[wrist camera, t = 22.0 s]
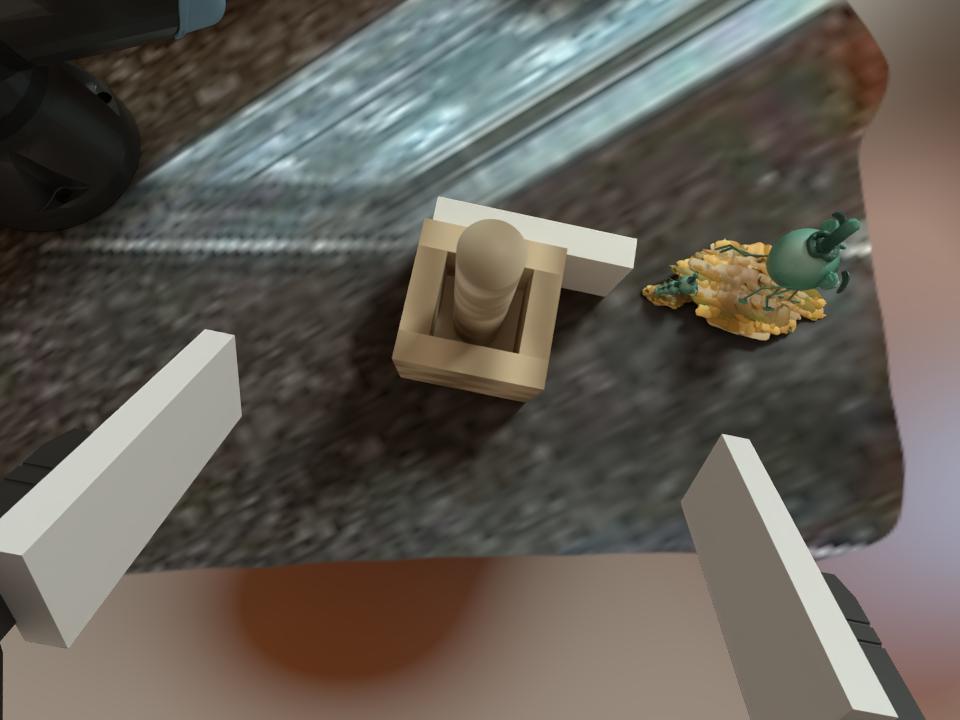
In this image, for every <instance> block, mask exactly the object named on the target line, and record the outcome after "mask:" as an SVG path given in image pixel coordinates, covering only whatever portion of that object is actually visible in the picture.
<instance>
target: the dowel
mask: <svg viewBox="0 0 960 720" xmlns="http://www.w3.org/2000/svg"><path fill="white" fill-rule="evenodd" d="M527 256H528V251H527V245H526V242H525V240H524V238H523V236H522V235H521V233H520V232H519V231H518V230H517V229H516V228H515V227H513V226H512V225H511V224H509V223H507V222H504V221H501V220H497V219H485V220H480V221H477V222H475V223H473V224H471V225H470V226H469V227H467V228H466V229H465V230H464V231H463V233H462V234H461V236H460V237H459V240H458V243H457V248H456V266H455V288H454V310H453V326H454V330H455V332H456V334H457V335H458V337H459V338H460V339H461V340H462V341H464V342H466V343H468V344H473V345H478V346H480V345H485V344H487V343H490V342H491V341H493V340H494V339H495V338H496V337H497V335H498V334H499V332H500V329H501V326H502V324H503V321H504V319H505V316H506V314H507V311H508V308H509V306H510V303H511V301H512V298H513V296H514V293H515V290H516V288H517V285H518V283H519V280H520V278H521V275H522V273H523V270H524V267H525V265H526V262H527Z"/></svg>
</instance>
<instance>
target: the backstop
mask: <svg viewBox="0 0 960 720" xmlns="http://www.w3.org/2000/svg"><path fill="white" fill-rule="evenodd" d="M485 219H497V220H501V221H504V222H507V223H509V224H511V225H512V226H513V227H515V228H516V229H517V230H518V231H519V232H520V233H521V235H522V236H523V238H524V239H526V240H530V241H535V242H540V243H544V244H549V245H554V246H558V247H563V248H568V249H567V255H566V261H565V267H564V273H563V279H562V285H561V288H566V289H570V290H575V291H580V292H585V293H589V294H594V295H599V296H604V297H605V296H606V295H607V294H608V293H609V292H610V291H611V290H612V289H613V288H614V287H615V286H616V285H617V284H618V283H619V282H620V281H621V280H622V279H623V278H624V277H625V276H626V275H627V274H628V273H629V272H630V271H631V270H632V269H633V266H634V258H635V251H636V244H637V239H634V238H629V237H625V236H620V235H615V234H611V233H606V232H602V231H597V230H592V229H588V228H583V227H578V226H574V225H569V224H564V223H560V222H555V221H550V220H546V219H541V218H536V217H532V216H527V215H523V214H518V213H513V212H509V211H504V210H499V209H495V208H490V207H485V206H481V205H476V204H471V203H467V202H462V201H457V200H453V199H448V198H444V197H439V196H438V200H437V204H436V208H435V213H434V217H433V220H437V221H441V222H446V223H451V224H455V225H460V226H465V227H469V226H470V225H471V224H473V223H475V222H477V221H480V220H485Z"/></svg>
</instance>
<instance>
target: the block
mask: <svg viewBox="0 0 960 720" xmlns="http://www.w3.org/2000/svg"><path fill="white" fill-rule="evenodd" d="M466 228H467V227H465V226H460V225H455V224H451V223H446V222H441V221H437V220H432V219H427V218H425V219H424V223H423V228H422V232H421V236H420V240H419V245H418V249H417V253H416V258H415V262H414V266H413V270H412V275H411V279H410V283H409V287H408V292H407V296H406V300H405V305H404V309H403V313H402V317H401V322H400V326H399V330H398V334H397V339H396V343H395V347H394V352H393V356H392V360H393V362H394V365H395V367H396V369H397V371H398V373H399V375H400V377H402V378H407V379H411V380H416V381H421V382H426V383H431V384H436V385H441V386H446V387H451V388H456V389H461V390H466V391H471V392H476V393H481V394H486V395H491V396H496V397H501V398H506V399H510V400H515V401H520V402H525V403H526V402H527V401H529V400H530V399H531V398H533V397H534V396H536V395H537V394H539V393H540V392H541V391H543V390H544V386H545V380H546V374H547V368H548V362H549V356H550V350H551V344H552V338H553V332H554V326H555V321H556V315H557V309H558V303H559V297H560V291H561V285H562V279H563V273H564V267H565V261H566V255H567V249H568V248H563V247H558V246H554V245H549V244H544V243H540V242H535V241H530V240H526V239H524V240H525V242H526V245H527V251H528V256H527V262H526V265H525V267H524V270H523V273H522V275H521V278H520V280H519V283H518V285H517V288H516V290H515V293H514V296H513V298H512V301H511V303H510V306H509V308H508V311H507V314H506V316H505V319H504V321H503V324H502V326H501V329H500V332H499V334H498V335H497V337H496V338H495V339H494V340H493V341H491V342H490V343H487V344H485V345H480V346H478V345H473V344H468V343H466V342H464V341H462V340H461V339H460V338H459V337H458V335H457V334H456V332H455V330H454V326H453V310H454V288H455V266H456V248H457V243H458V240H459V237H460V236H461V234H462V233H463V231H464V230H465V229H466Z"/></svg>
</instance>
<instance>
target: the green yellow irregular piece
mask: <svg viewBox="0 0 960 720" xmlns="http://www.w3.org/2000/svg"><path fill="white" fill-rule="evenodd" d="M832 216H833V217H835V218H837V219H838V220H839V223H838V222H837V220H835V219H829V220H826V221H824V222H823V224H822V225H821V228H820V230H817V229H799V230H795V231H791V232H790V233H788V234H787V235H785V236H783V237H782V238H780V239H779V240H778V241H776V242H775V243H774V245H773V246H771V245H764V244H763V243H761V242H759V243H755V244H752V245H739V244H738V243H737V242H735V241H727V240H726V239H724V240H722V241H717V242H715V243H716V244H714V243H713V244H711V250H709V249H708V250H704V251H703V249H702V251H701V252H700V253H699V252H696V253H695V254H694V256H691V257H690V259H685V260H684V261H683V260H680V261H678V262H676V263H677V264H678V265H670V266H671V269H672V272H673V273H674V274H676V275H678V277H679V279H678V278H676V281H674V280H673V281H670V280H669V281H668V282H663V283H664V284H658V285H655V286H652V285H650V286H647V288H645V289H643V291H642V294H643V295H645V297H647V299H648V300H649V301H651V302H652V303H654V305H656V306H657V305H658V306H661V305H663V306H664V305H665V306H669V307H671V308H672V309H677V307H680V306H683V304H684V303H685V302H688V303H689V302H691V301H692V302H695V303H697V305H698V308H697V309H696V310H695V311H696V315H697V316H702V317H704V318H706V320H707V322H708V323H709V324H710V325H712V326H715V327H718V328H721V329H723V330H726V331H728V332H731V333H734V334H737V335H739V334H740V335H743V336H746V337H750V338H754V339H759V340H767V339H769V336H770V334H774V335H779V334H780V333H785V334H788V330H790V331H791V332H793V331H794V330H795V329H796V325H797V324H796V320H797V319H798V320H800V319H801V316H803V317H806V318H809V319H811V320H817V319H820V318H823V317H825V316H827V315H825V314H823V307H824V306H825V304H827V303H826V302H825V300H824V299H819V298H822V296H821V295H820V294H819V292H818V291H816V290H815V289H813V288H816V287H818V286H819V287H820V288H821V289H823V290H828V289H833V288H836V287H837V285H838V284H839V278H838V276H837V274H836V272H837V270H838V265H839V262H840V250H839V249H846V246H844V245H843V244H840V243H841V242H843V241H844V240H845V239H846V238H848V237H849V236H850V235H852V234H853V233H855V232H856V231H857V230H859V228H860V222H859V221H858V220H857V219H848V220H847V219H846V216H845V215H844V214H843V213H841V212H835V213H834V214H832ZM704 249H706V248H704ZM841 274H842V283H841V285H840V287H839V289H838V290H837V292H836V293H841V292H842V291H843V290H844V289H845V288H846V286H847V284H848V282H849V280H850V274H849V272H848V271H844V272H842V273H841ZM668 279H671V278H668ZM665 280H666V279H665ZM671 280H672V279H671ZM823 298H824V297H823ZM682 303H683V304H682ZM787 329H788V330H787Z"/></svg>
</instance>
